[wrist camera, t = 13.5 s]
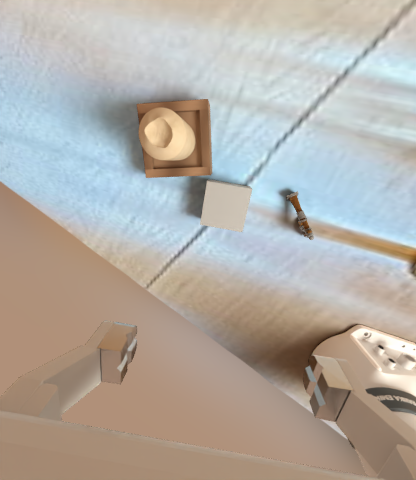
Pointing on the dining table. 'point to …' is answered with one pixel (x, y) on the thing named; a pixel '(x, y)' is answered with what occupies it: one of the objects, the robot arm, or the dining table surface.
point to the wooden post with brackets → (300, 215)
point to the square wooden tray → (201, 157)
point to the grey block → (225, 205)
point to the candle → (166, 135)
